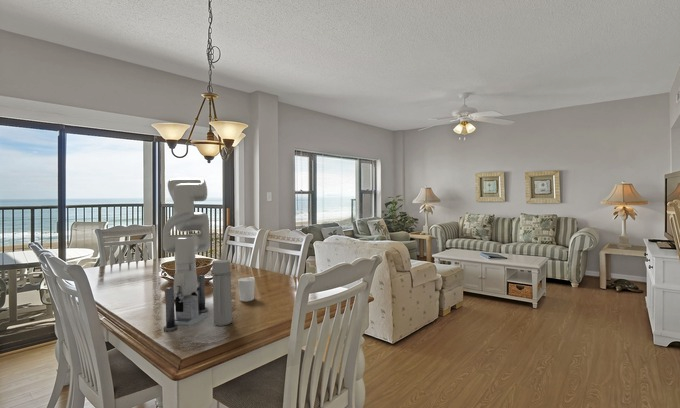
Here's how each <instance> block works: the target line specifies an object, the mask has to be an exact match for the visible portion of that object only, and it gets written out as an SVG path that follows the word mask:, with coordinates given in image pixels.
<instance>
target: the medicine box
mask: <svg viewBox="0 0 680 408" xmlns="http://www.w3.org/2000/svg"><path fill="white" fill-rule="evenodd" d="M180 298H181V297H179V299H180ZM182 302H183V310H184V311H183V312H176V311H175V317H176V318H182V319H194V318H196V317H197V316H199V314H198V296H193V295H187V296H184V298H183V300H182Z"/></svg>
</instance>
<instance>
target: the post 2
mask: <svg viewBox="0 0 680 408" xmlns="http://www.w3.org/2000/svg"><path fill="white" fill-rule="evenodd" d="M205 279H206V278H205V274H198V275H197V282H199V283H200V285H199V290H198V313H207V312H208V311H209V308H208V307H206V285H205V284H206V281H205Z"/></svg>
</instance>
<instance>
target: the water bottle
mask: <svg viewBox="0 0 680 408" xmlns="http://www.w3.org/2000/svg"><path fill="white" fill-rule="evenodd" d="M211 267H212V268H211V273H210V275H211V276H212V302H213V305H212V306H213V307H212V308H213V324H214V325H215V326H218V327H222V326H228V325H230V324H231V323H233V308H232V307H233V304H232V302H233V301H232V300H233V299H232V297H233V296H232V270H231V263H230V260H229V259H217V260H213V261H212V266H211Z"/></svg>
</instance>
